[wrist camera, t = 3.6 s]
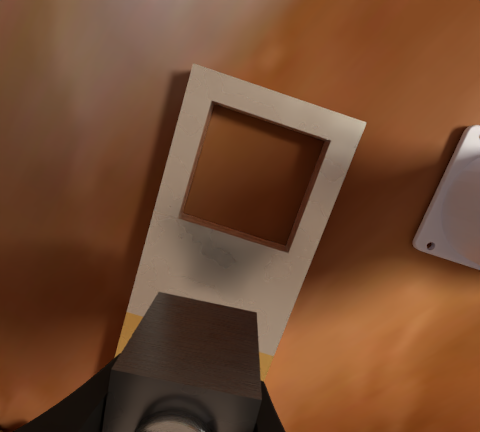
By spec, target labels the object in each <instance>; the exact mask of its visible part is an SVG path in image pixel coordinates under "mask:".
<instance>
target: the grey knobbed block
mask: <svg viewBox="0 0 480 432" xmlns="http://www.w3.org/2000/svg"><path fill="white" fill-rule="evenodd" d="M261 401H262V394H261V377H260V359H259V342H258V325H257V312H253V311H248V310H243V309H239V308H234V307H229V306H224V305H220V304H215V303H210V302H206V301H201V300H196V299H191V298H187V297H182V296H177V295H172V294H168V293H163V292H158V294H157V295H156V297H155V299H154V300H153V302H152V304H151V305H150V307H149V308H148V310H147V312H146V313H145V315H144V317H143V318H142V320H141V321H140V323H139V325H138V326H137V328H136V330H135V331H134V333H133V334H132V336H131V338H130V339H129V341H128V343H127V344H126V346H125V347H124V349H123V351H122V352H121V354H120V356H119V357H118V359H117V361H116V362H115V364H114V365H113V367H112V369H111V373H110V380H109V387H108V394H107V401H106V407H105V414H104V421H103V428H102V432H253V430H254V427H255V423H256V419H257V416H258V412H259V409H260V405H261Z"/></svg>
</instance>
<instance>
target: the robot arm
mask: <svg viewBox="0 0 480 432" xmlns="http://www.w3.org/2000/svg"><path fill="white" fill-rule="evenodd" d="M479 135H480V125H472V126H469V127H467V128H466V129H465V130H464V132H463V134H462V136H461V139H460V141H459V143H458V145H457V147H456V149H455V151H454V154H453V156H452V158H451V160H450V162H449V164H448V166H447V169H446V171H445V173H444V175H443V177H442V179H441V181H440V184H439V186H438V188H437V190H436V192H435V194H434V196H433V199H432V201H431V203H430V205H429V207H428V209H427V211H426V214H425V216H424V218H423V220H422V222H421V224H420V226H419V229H418V231H417V233H416V235H415V237H414V239H413V246H414V248H416V249H418V250H419V251H422V252H425V253H428V254H431V255H434V256H438V257H441V258H444V259H447V260H450V261H453V262H456V263H459V264H462V265H465V266H468V267H471V268H475V269H478V270H480V139H479ZM430 242H431V243H432V244H431V246H430V247H429V248H427V244H428V243H430ZM120 354H121V353H120ZM120 354H118V355H117V356H116V357H115V358H114V359H113V360H112V361H111V362H109V363H108V364H107V365H106V366H105V367H104V368H103V369H101V370H100V371H99V372H98V373H97V374H96V375H94V376H93V377H92V378H91V379H89V380H88V381H87V382H86V383H84V384H83V385H82V386H81V387H79V388H78V389H77V390H76V391H74V392H73V393H71V394H70V395H69V396H67V397H66V398H65V399H63V400H62V401H61V402H59V403H58V404H56V405H55V406H53V407H52V408H50V409H49V410H48V411H46V412H44V413H43V414H41V415H40V416H38V417H37V418H35V419H33V420H32V421H30V422H29V423H27V424H25V425H23V426H22V427H20V428H18V429H17V430H15V431H13V432H102V428H103V421H104V414H105V407H106V401H107V394H108V387H109V380H110V373H111V369H112V367H113V365H114V364H115V362H116V361H117V359H118V357H119V356H120ZM261 394H262V401H261V405H260V409H259V412H258V416H257V419H256V423H255V427H254V430H253V432H285V430H284V428H283V426H282V424H281V422H280V419H279V417H278V415H277V413H276V411H275V408H274V406H273V403H272V401H271V399H270V396H269V394H268V391H267V388H266V385H265V383H264V382H263V381H261Z"/></svg>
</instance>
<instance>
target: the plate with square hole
mask: <svg viewBox="0 0 480 432" xmlns="http://www.w3.org/2000/svg"><path fill="white" fill-rule="evenodd" d="M214 104H216V105H219V106H222V107H225V108H228V109H231V110H234V111H237V112H240V113H243V114H246V115H248V116H251V117H254V118H257V119H260V120H263V121H266V122H269V123H272V124H275V125H278V126H281V127H284V128H287V129H290V130H293V131H296V132H299V133H302V134H305V135H308V136H311V137H314V138H317V139H320V140H323V141H324V144H323V147H322V149H321V152H320V155H319V157H318V160H317V163H316V166H315V168H314V171H313V174H312V176H311V179H310V182H309V184H308V187H307V190H306V192H305V195H304V198H303V200H302V203H301V206H300V208H299V211H298V214H297V216H296V219H295V222H294V224H293V227H292V230H291V233H290V235H289V238H288V241H287V243H286V246H285V245H282V244H279V243H275V242H272V241H269V240H266V239H263V238H260V237H257V236H253V235H250V234H247V233H244V232H241V231H238V230H235V229H232V228H228V227H225V226H222V225H219V224H216V223H213V222H210V221H206V220H203V219H200V218H197V217H194V216H191V215H188V214H184V213H183V211H184V208H185V204H186V201H187V198H188V194H189V191H190V187H191V184H192V180H193V177H194V173H195V170H196V166H197V163H198V159H199V156H200V153H201V149H202V146H203V142H204V139H205V135H206V132H207V128H208V125H209V121H210V118H211V115H212V111H213V108H214ZM365 125H366V122H363V121H361V120H358V119H355V118H352V117H349V116H346V115H343V114H340V113H337V112H334V111H331V110H328V109H325V108H322V107H320V106H317V105H314V104H311V103H308V102H305V101H302V100H299V99H296V98H293V97H290V96H287V95H284V94H281V93H279V92H276V91H273V90H270V89H267V88H264V87H261V86H258V85H255V84H252V83H249V82H246V81H243V80H240V79H238V78H235V77H232V76H229V75H226V74H223V73H220V72H217V71H214V70H211V69H208V68H205V67H202V66H199V65H197V64H194V63H193V66H192V69H191V73H190V77H189V81H188V84H187V88H186V92H185V96H184V99H183V103H182V107H181V111H180V114H179V118H178V122H177V125H176V129H175V133H174V137H173V140H172V144H171V148H170V152H169V155H168V159H167V163H166V167H165V170H164V174H163V178H162V182H161V185H160V189H159V193H158V197H157V200H156V204H155V208H154V211H153V215H152V219H151V223H150V226H149V230H148V234H147V238H146V241H145V245H144V249H143V253H142V256H141V260H140V264H139V268H138V271H137V275H136V279H135V283H134V286H133V290H132V294H131V298H130V301H129V305H128V309H127V312H126V316H125V320H124V324H123V327H122V331H121V335H120V339H119V342H118V346H117V350H116V354H115V357H116V356H117V355H118V354H120V353H121V352H122V351H123V349H124V347H125V346H126V344H127V343H128V341H129V339H130V338H131V336H132V334H133V333H134V331H135V330H136V328H137V326H138V325H139V323H140V321H141V320H142V318H143V317H144V315H145V313H146V312H147V310H148V308H149V307H150V305H151V304H152V302H153V300H154V299H155V297H156V295H157V294H158V292H163V293H168V294H172V295H177V296H182V297H187V298H191V299H196V300H201V301H206V302H210V303H215V304H220V305H224V306H229V307H234V308H239V309H243V310H248V311H253V312H257V325H258V342H259V359H260V377H261V381H263V382H264V380H265V377H266V375H267V372H268V370H269V367H270V364H271V362H272V359H273V357H274V354H275V352H276V349H277V347H278V344H279V342H280V339H281V337H282V334H283V332H284V329H285V327H286V324H287V322H288V319H289V317H290V314H291V312H292V309H293V307H294V304H295V302H296V299H297V297H298V294H299V292H300V289H301V286H302V284H303V281H304V279H305V276H306V274H307V271H308V269H309V266H310V264H311V261H312V259H313V256H314V254H315V251H316V249H317V246H318V244H319V241H320V239H321V236H322V234H323V231H324V229H325V226H326V224H327V221H328V219H329V216H330V213H331V211H332V208H333V206H334V203H335V201H336V198H337V196H338V193H339V191H340V188H341V186H342V183H343V181H344V178H345V176H346V173H347V171H348V168H349V166H350V163H351V161H352V158H353V156H354V153H355V151H356V148H357V146H358V143H359V141H360V138H361V135H362V133H363V130H364V128H365ZM115 357H114V358H115Z"/></svg>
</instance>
